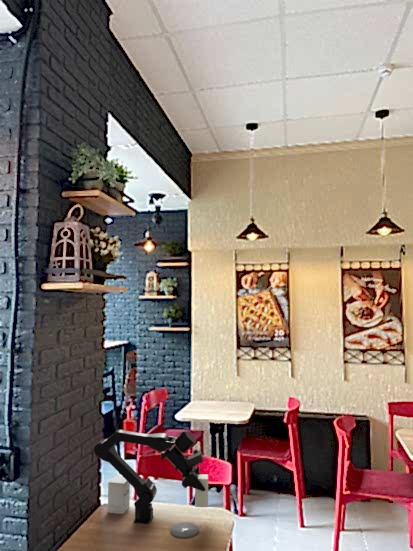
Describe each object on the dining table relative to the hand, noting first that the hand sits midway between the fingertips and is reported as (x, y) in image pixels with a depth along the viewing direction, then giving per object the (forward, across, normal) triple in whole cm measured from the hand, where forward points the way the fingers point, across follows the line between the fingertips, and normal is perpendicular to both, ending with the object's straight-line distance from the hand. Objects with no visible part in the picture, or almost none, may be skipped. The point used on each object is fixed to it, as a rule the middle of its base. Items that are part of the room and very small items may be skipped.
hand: (205, 487), depth 183 cm
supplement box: (-17, +10, +36) cm, 41 cm away
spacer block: (+4, 0, +6) cm, 7 cm away
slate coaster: (+4, -7, +15) cm, 17 cm away
